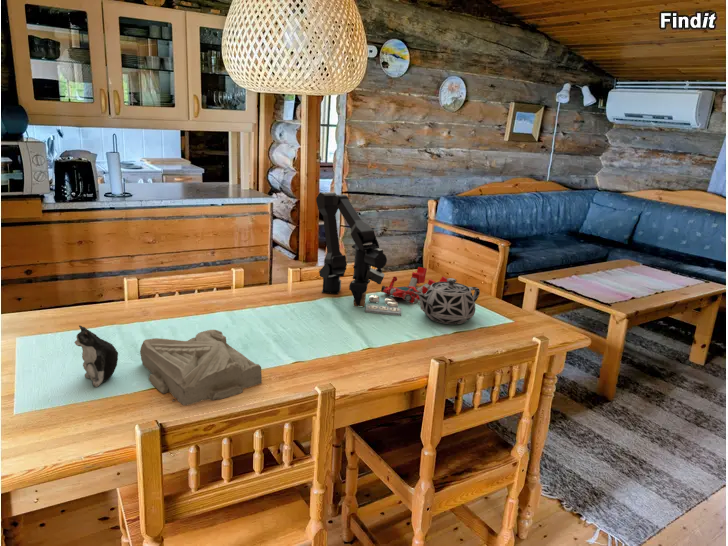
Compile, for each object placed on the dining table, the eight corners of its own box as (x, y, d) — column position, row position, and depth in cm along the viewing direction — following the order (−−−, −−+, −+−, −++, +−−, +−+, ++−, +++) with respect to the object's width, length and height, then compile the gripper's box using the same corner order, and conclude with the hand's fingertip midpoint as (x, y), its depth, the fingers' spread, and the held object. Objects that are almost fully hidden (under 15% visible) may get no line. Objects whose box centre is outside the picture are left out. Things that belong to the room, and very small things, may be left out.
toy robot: (455, 275, 229) (408, 283, 208) (452, 297, 231) (405, 307, 210) (422, 265, 241) (374, 271, 220) (419, 286, 243) (371, 295, 222)
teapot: (395, 316, 202) (398, 276, 197) (458, 305, 218) (463, 268, 214) (428, 334, 186) (433, 292, 182) (494, 321, 203) (499, 282, 199)
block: (353, 306, 209) (354, 293, 207) (354, 302, 213) (355, 290, 211) (363, 307, 208) (364, 294, 207) (365, 303, 212) (366, 291, 211)
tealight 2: (383, 304, 213) (384, 298, 212) (385, 301, 217) (386, 295, 216) (393, 306, 212) (394, 299, 211) (395, 303, 216) (396, 296, 215)
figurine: (70, 377, 143) (65, 322, 138) (109, 367, 149) (106, 314, 145) (83, 391, 136) (79, 334, 132) (124, 380, 143) (121, 325, 139)
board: (365, 311, 203) (365, 309, 203) (366, 306, 209) (367, 303, 209) (400, 315, 202) (400, 312, 202) (401, 309, 208) (401, 307, 208)
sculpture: (178, 413, 130) (177, 380, 128) (131, 363, 153) (130, 334, 150) (272, 385, 147) (273, 355, 144) (217, 344, 169) (217, 317, 167)
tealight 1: (368, 302, 214) (368, 296, 213) (369, 299, 218) (369, 293, 217) (378, 303, 214) (379, 297, 213) (379, 300, 218) (380, 294, 217)
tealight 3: (386, 308, 209) (387, 302, 208) (387, 305, 213) (388, 298, 212) (397, 309, 209) (398, 303, 208) (398, 306, 212) (398, 299, 212)
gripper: (381, 270, 196) (378, 312, 201) (385, 257, 214) (382, 296, 218) (350, 267, 197) (347, 309, 202) (357, 255, 215) (354, 293, 219)
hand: (359, 302), depth 210 cm, fingers open, 7 cm apart
